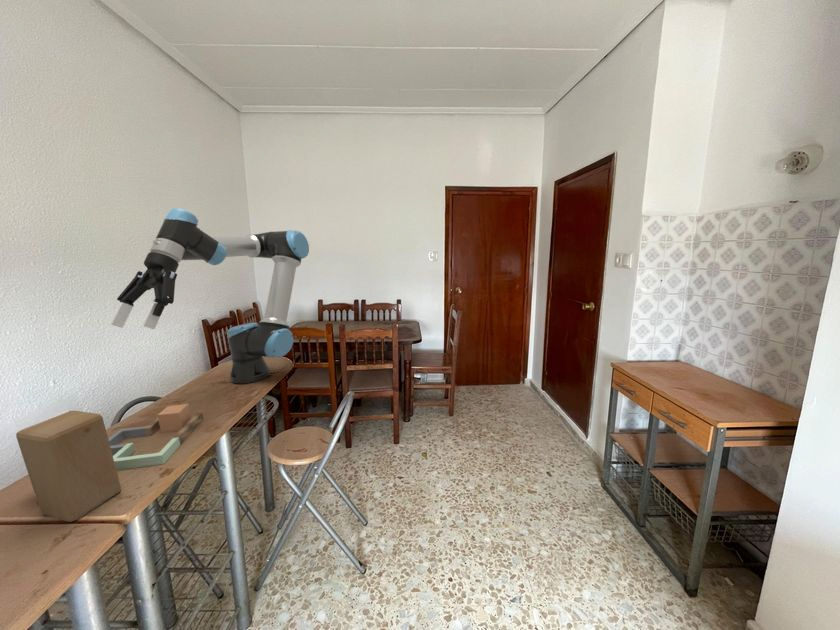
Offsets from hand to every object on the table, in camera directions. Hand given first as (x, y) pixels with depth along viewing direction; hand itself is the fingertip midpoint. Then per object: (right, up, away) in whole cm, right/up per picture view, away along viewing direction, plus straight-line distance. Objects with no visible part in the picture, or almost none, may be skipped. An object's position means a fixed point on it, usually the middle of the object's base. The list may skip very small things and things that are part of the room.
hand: (132, 326), depth 90 cm
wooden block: (+2, -39, -15) cm, 42 cm away
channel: (+1, -33, +12) cm, 35 cm away
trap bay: (-8, -34, +7) cm, 36 cm away
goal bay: (+3, -35, +1) cm, 35 cm away
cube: (0, -32, +17) cm, 36 cm away
